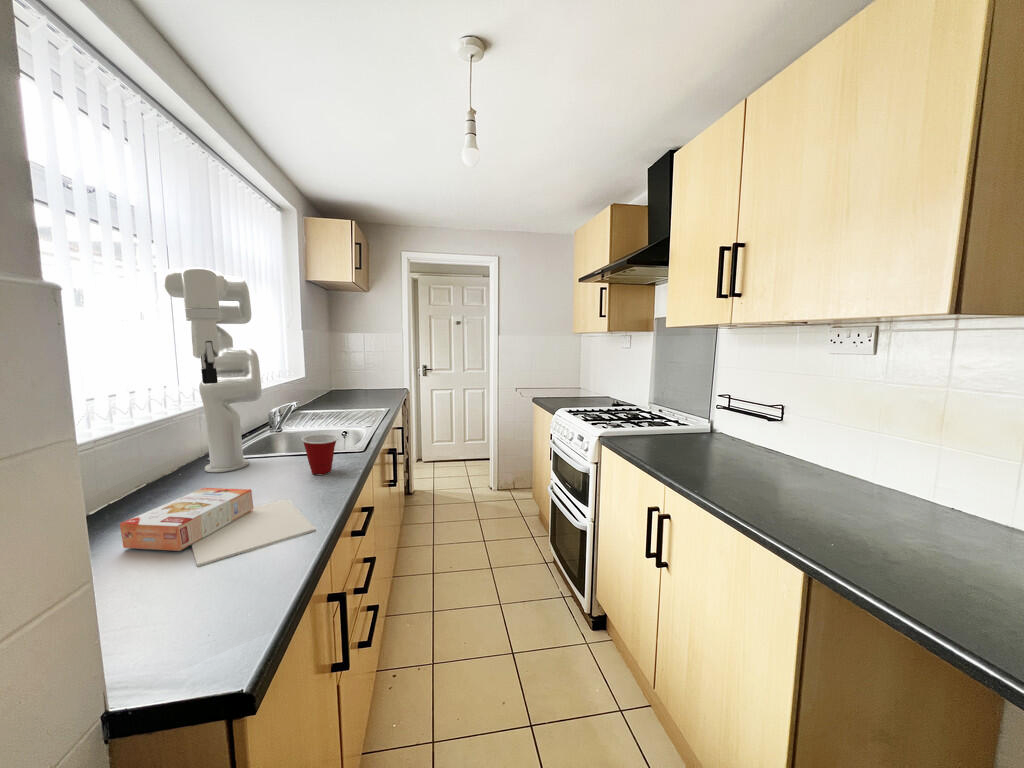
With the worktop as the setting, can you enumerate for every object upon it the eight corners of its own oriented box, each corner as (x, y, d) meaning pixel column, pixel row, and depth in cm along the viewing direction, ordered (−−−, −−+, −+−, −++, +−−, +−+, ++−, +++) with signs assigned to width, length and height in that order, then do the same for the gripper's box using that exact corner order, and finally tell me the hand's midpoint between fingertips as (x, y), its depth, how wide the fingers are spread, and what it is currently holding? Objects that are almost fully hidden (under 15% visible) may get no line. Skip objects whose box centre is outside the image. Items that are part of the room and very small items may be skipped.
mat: (185, 525, 99) (185, 524, 99) (287, 500, 114) (287, 498, 114) (197, 566, 82) (197, 564, 82) (315, 530, 96) (315, 528, 96)
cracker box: (252, 487, 106) (176, 525, 85) (254, 509, 107) (180, 553, 86) (202, 485, 108) (117, 523, 87) (205, 507, 108) (121, 550, 88)
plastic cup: (330, 478, 132) (328, 441, 130) (297, 478, 132) (294, 441, 131) (345, 467, 142) (343, 433, 141) (314, 467, 143) (312, 433, 141)
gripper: (182, 315, 115) (190, 381, 117) (189, 315, 104) (196, 387, 107) (215, 316, 120) (221, 379, 123) (225, 315, 109) (231, 384, 112)
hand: (210, 383), depth 115 cm, fingers closed
